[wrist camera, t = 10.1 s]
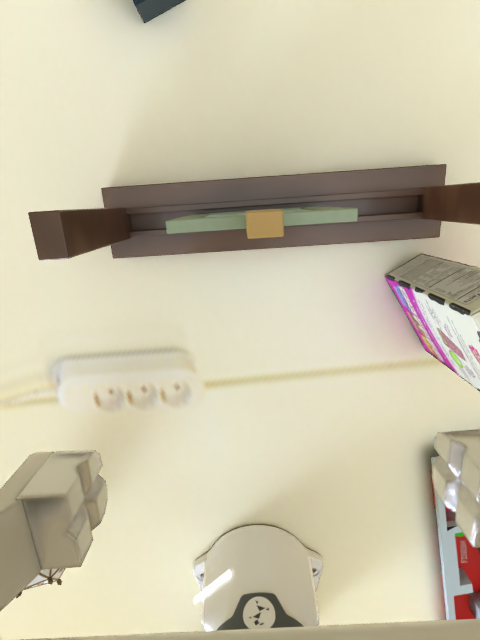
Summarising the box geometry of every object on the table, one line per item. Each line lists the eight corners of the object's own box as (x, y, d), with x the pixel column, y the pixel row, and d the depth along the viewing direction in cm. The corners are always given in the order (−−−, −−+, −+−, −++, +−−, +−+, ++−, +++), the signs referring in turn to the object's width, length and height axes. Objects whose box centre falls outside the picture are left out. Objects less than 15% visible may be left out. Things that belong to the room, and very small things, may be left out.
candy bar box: (464, 329, 43) (591, 401, 28) (425, 351, 44) (527, 433, 28) (423, 249, 40) (538, 278, 25) (382, 274, 41) (468, 317, 26)
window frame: (430, 235, 40) (559, 258, 24) (118, 255, 41) (37, 291, 24) (436, 165, 38) (583, 138, 22) (107, 188, 39) (11, 178, 22)
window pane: (315, 217, 37) (379, 230, 20) (193, 225, 38) (153, 245, 20) (315, 202, 37) (380, 203, 20) (192, 211, 37) (150, 219, 20)
